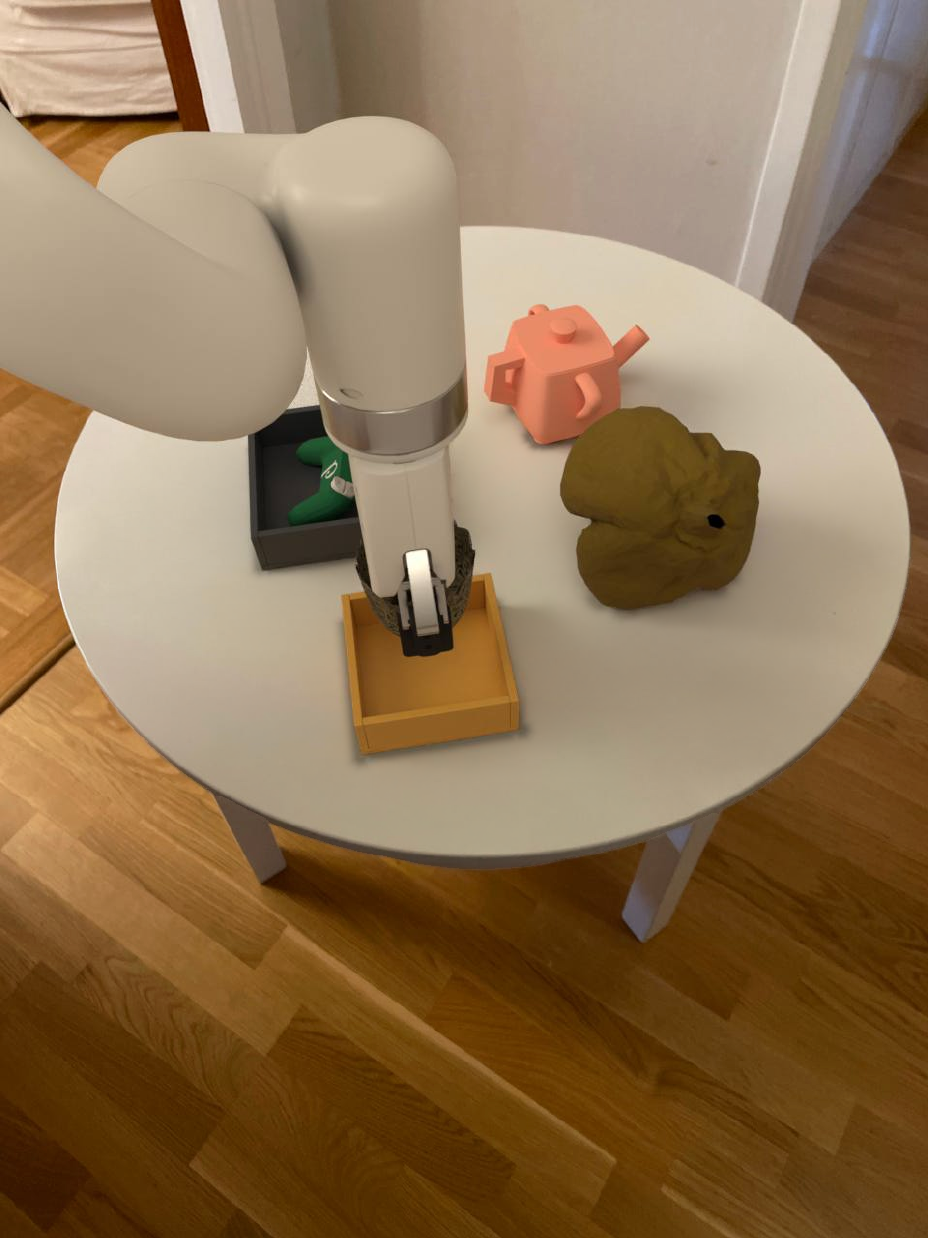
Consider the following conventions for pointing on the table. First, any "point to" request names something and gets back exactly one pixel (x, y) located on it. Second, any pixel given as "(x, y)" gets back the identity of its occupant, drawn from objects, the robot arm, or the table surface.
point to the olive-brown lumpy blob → (658, 508)
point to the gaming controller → (324, 483)
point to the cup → (454, 593)
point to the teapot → (559, 371)
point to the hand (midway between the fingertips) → (420, 598)
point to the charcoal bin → (293, 496)
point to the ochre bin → (430, 678)
